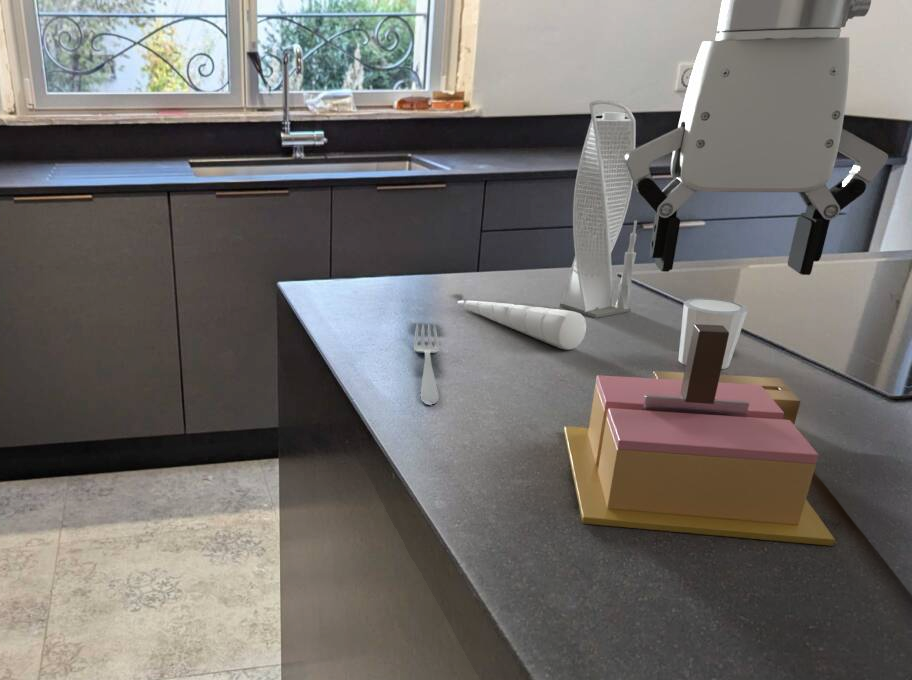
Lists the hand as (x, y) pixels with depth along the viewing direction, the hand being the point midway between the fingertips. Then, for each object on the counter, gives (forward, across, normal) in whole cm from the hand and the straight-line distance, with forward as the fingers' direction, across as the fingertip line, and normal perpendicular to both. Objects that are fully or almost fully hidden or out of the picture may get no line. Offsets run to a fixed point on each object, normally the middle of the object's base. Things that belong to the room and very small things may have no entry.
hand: (729, 269), depth 63 cm
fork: (+18, +24, -25) cm, 39 cm away
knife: (+18, +1, 0) cm, 18 cm away
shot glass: (+19, -8, -33) cm, 39 cm away
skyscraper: (+19, +3, -55) cm, 58 cm away
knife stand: (+18, -5, -14) cm, 24 cm away
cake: (+18, +1, 0) cm, 18 cm away
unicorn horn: (+18, +14, -43) cm, 49 cm away
